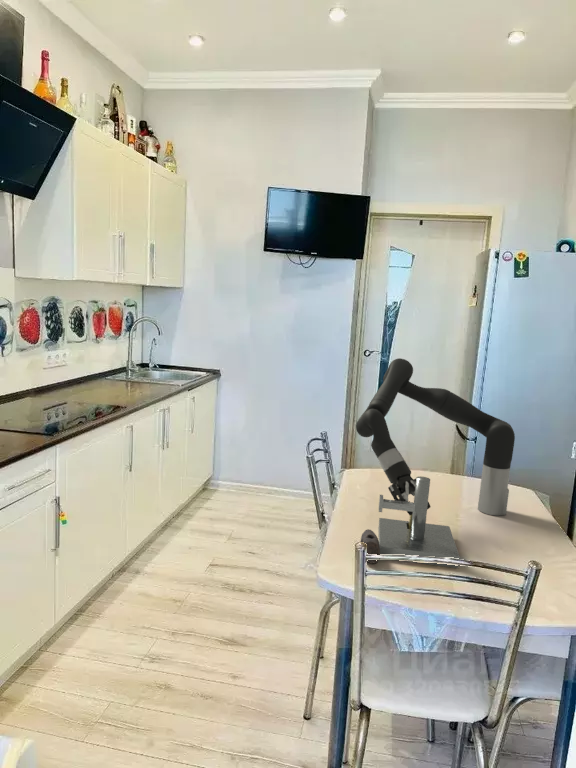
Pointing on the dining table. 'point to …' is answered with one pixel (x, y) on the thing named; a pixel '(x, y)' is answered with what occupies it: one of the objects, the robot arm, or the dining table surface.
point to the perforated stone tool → (371, 543)
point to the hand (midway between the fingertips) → (420, 511)
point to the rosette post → (415, 529)
